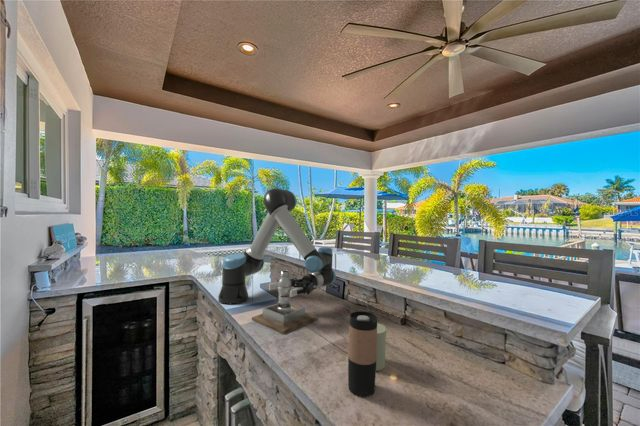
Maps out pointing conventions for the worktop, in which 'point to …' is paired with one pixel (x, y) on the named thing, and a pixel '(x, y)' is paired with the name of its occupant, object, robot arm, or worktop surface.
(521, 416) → the worktop surface
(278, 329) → the board
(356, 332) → the travel mug
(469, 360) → the worktop surface
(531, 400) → the worktop surface
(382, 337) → the can
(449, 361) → the worktop surface
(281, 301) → the plastic bottle
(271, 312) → the grey square tray
